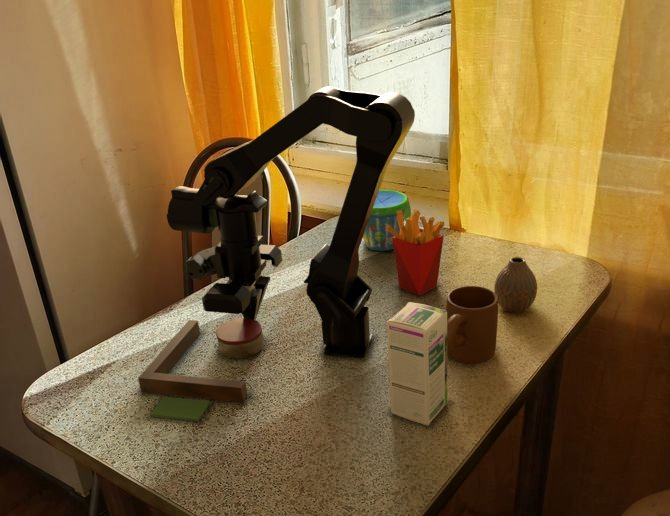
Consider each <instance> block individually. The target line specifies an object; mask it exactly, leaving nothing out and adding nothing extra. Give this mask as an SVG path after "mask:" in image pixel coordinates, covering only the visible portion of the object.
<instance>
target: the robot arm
mask: <svg viewBox="0 0 670 516" xmlns="http://www.w3.org/2000/svg"><path fill="white" fill-rule="evenodd" d="M415 118H416V111H415V109H414V107H413V104H412V102H411V101H410V100H409V99H408V98H407V97H406V96H404V95H402V94H401V93H398V92H387V93H384V94H378V93H377V94H376V93H372V92H366V91H356V90H355V91H354V90H346V89H341V88H337V87H335V86H331V85H330V86H324V87H322V88H320V89H318V90H317V91H315V92H313V93H312V94H311V95H309V97H308V98H307V99H306V100H305V101H304V102H303V103H301V104H300V105H299V106H298V107H296V108H295V109H293V110H292V111H290V112H289V113H288V114H286V115H285V116H284V117H282V118H281V119H280V120H278V121H277V122H276V123H274V124H273V125H272V126H270V127H269V128H268V129H266V130H265V131H264V132H262V133H261V134H260V135H258V136H256V138H254V139H252V140H250V141H247V142H245V143H242V144H240V145H237V146H236V147H234V148H231V149H228V151H226V152H223V154H220V155H219V156H217V157H216V158H214V159H212V160H211V161H209V162H208V163H207V164H205V166H204V168H203V178H204V180H203V182H202V184H200V187H199V188H193V187H188V186H183V185H178V186H176V187H175V188H173V189H171V191H170V194H171V198H170V201H169V203H168V206H167V214H166V221H167V224H168V226H169V227H170V228H171V229H172V230H173V231H178V232H188V233H197V234H208V235H209V234H211V233H213V232H214V230H215V229H216V228H218V234H219V240H220V241H219V243H218V244H217V245H215V246H212V247H209V248H206V249H202V250H200V251H198V252H197V253H196V254H195V255H193V256H190V257H189V258H188V259H186V261H185V269H186V270H185V274H186V276H189V278H190V279H191V280H196V281H201V280H203V279H204V278H208V277H211V276H215V275H216V277H217V279H224V280H225V279H226V278H228V280H227V281H226V283H223V282H215V283H214V284H213V285H212V286H211V287H210V288H209V290H208V291H207V292H206V293H205V294H204V296H202V298H201V301H202V307H203V310H204V311H205V312H208V313H220V314H231V315H239V314H241V315H242V317H243V318H248V319H253V320H256V321H257V318H258V314H259V311H260V309H261V305H262V303H263V300H264V298H265V294H266V291H267V288H268V286H269V284H270V281H271V277H270V276H267V275H266V276H265V275H263V273H262V272H263V271H264V269H265V268H266V267H267V263H268V262H267V261H270V262H271V266H272V267H273V268H278V267H279V266H280V264H281V263H282V262H283V254H282V250H281V249H280V248H279V247H278V245H277V246H276V245H275V244H274V245H273V244H263V243H265V242H264V236H263V235H259V231H258V225H257V215H256V214H257V213H260V211H261V210H262V209H264V208H265V207H267V206H268V204H269V202H268V201H269V200H267V199H266V198H264V197H263V196H261V195H259V194H258V192H257V191H256V190H253V191H252V192H251V193H249V194H248V195H243V194H239V193H240V192H241V191H243V190H244V189H246V188H248V187H249V186H250V185H252V183H254V182H255V180H257V178H259V176H260V175H261V174H262V173H263V172H264V171H265V170H266V169H267V167H268V166H269V164H270V163H271V162H272V161H273V160H274V159H275V158H276V157H278V156H279V155H281V154H282V153H283V152H285V151H286V150H288V149H289V148H291V147H292V146H293V145H295V144H296V143H298V142H299V141H301V140H302V139H303V138H304V137H307V136H308V135H310V133H312V132H313V131H315V130H316V129H317V128H319V127H320V126H322V125H327V126H330V127H332V128H334V129H335V130H338V131H340V132H342V133H343V134H346V135H349V136H353V137H355V153H356V161H355V165H354V169H353V173H352V175H351V179H350V182H349V185H348V187H347V191H346V194H345V197H344V201H343V204H342V207H341V210H340V212H339V216H338V219H337V222H336V226H335V228H334V232H333V235H332V238H331V241H330V245H328V243H325V244H324V245H323V246H322V247H321V248H320V250H319V251H318V252H317V253H316V254H315V255H314V256H313V257H312V258H311V260H310V262H309V269H308V270H309V271H308V275H307V277H306V278H305V279H304V281H303V284H307V285H306V296H307V297H308V298H309V300H310V301H311V303H312V304H313V305H314V306H315V308H316V311H317V313H318V315H319V317H320V320H321V322H320V323H321V335H322V343H323V345H325V346H324V348H323V354H324V355H329V356H339V357H353V358H364V357H366V355H367V353H368V350H369V347H370V344H371V342H372V339H373V333H371V332H370V314H369V307H368V306H365V305H366V304H367V302H368V301H369V299H370V297H371V295H372V292H373V287H371V286H370V285H369V284H368V283H367V282H366V281H365V280H363V278H362V277H361V276H360V275H359V267H360V257H359V255H360V254H359V253H360V252H359V250H360V247H361V243H362V241H363V235H364V232H365V229H366V227H367V224H368V221H369V218H370V215H371V212H372V209H373V207H374V204H375V201H376V198H377V195H378V192H379V190H381V187H382V183H383V181H384V177H385V175H386V171H387V169H388V166H389V165H390V163H391V162H392V160H393V159H394V157H395V155H396V153H397V152H398V150H399V149H400V147H401V145H402V144H403V142H404V141H405V139H406V137H407V135H408V133H409V132H410V130H411V128H412V127H413V124H414V122H415Z"/></svg>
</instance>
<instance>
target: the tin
mask: <svg viewBox="0 0 670 516" xmlns="http://www.w3.org/2000/svg"><path fill="white" fill-rule="evenodd" d="M215 335H216V339H217V346H218V351H219V353H220V354H221V355H222V356H223V357H224V358H227V359H232V360H241V359H242V360H243V359H248V358H251V357H253V356H255V355H257V354H259V353H260V352H261V351H262V350H263V349H264V347H265V342H264V334H263V325H262V323H260V321H258V320H257V319H256V320H253V319H248V318H244V317H243V318H234V319H230V320H227V321H226V322H224V323H222V324H220V325H219V326H218V328H217V329H216V331H215Z"/></svg>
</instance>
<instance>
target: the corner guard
mask: <svg viewBox="0 0 670 516" xmlns="http://www.w3.org/2000/svg"><path fill="white" fill-rule="evenodd" d="M200 335H201V331H200V324H199V320H198V319H197V320H194V319H188V320H187V321H186V323H185V324H184V325H183V326H182V327H181V328H180V330H179V331H178V332H177V333H176V334H175V335H174V336H173V337H172V339H171V340H170V341H169V342H168V343H167V344H166V346H165V347H164V348H163V349H162V350H161V351H160V352H159V353H158V354H157V356H156V357H154V359H153V360H152V361H151V363H150V364H148V366H147V367H146V368H145V369H144V370H143V371H142V373H141V374H140V375H139V376H138V377H137V379H138V384H139V387H140V391H141V393H145V394H156V395H166V396H174V397H175V396H176V397H185V398H195V399H205V400H215V401H222V402H223V401H224V402H233V403H245V401H246V400H247V398H248V390H247V384H246V380H245V381H244V380H234V379H223V378H212V377H204V376H203V377H202V376H193V375H192V376H191V375H183V374H181V375H180V374H173V373H172V374H171V373H170V371H171V370H172V369H173V367H175V365H176V364H177V363H178V361H179V360H180V359H182V357H183V355H184V354H185V353H186V352H187V350H188V349H189V348H190V346H192V344H193V343H194V342H195V341H196V340H197V338H198V337H199V336H200Z"/></svg>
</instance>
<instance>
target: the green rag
mask: <svg viewBox="0 0 670 516" xmlns="http://www.w3.org/2000/svg"><path fill="white" fill-rule="evenodd" d="M210 406H211V401H210V400H202V399H201V400H199V399H191V398H182V397H171V396H163V397H162V398H161V400H160V401H159V403H158V404H157V405H156V406H155V408H154V409H153V410H152V411H151V413H150V417H153V418H161V419H162V418H163V419H170V420H181V421H190V422H199V421H200V420H201V419H202V417H203V415H204V414H205V412H206V411H207V410H208V408H209V407H210Z"/></svg>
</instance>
